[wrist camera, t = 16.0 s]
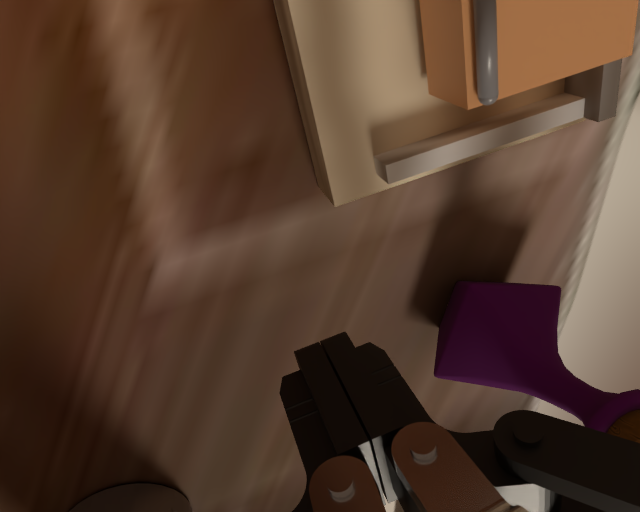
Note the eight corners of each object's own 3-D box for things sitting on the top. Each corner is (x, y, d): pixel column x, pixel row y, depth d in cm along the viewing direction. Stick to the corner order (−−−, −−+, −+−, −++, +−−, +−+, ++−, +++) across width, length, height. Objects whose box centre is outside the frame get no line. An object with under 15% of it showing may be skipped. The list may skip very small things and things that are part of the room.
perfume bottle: (443, 258, 33) (689, 492, 18) (530, 263, 35) (809, 470, 20) (412, 347, 36) (598, 609, 21) (494, 345, 39) (711, 577, 24)
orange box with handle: (423, 91, 23) (478, 114, 19) (410, -25, 21) (472, -27, 17) (566, 44, 24) (647, 57, 20) (572, -72, 22) (666, -84, 18)
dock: (318, 186, 28) (351, 227, 23) (244, -117, 20) (271, -147, 15) (548, 108, 30) (621, 132, 25) (560, -194, 22) (667, -240, 17)
